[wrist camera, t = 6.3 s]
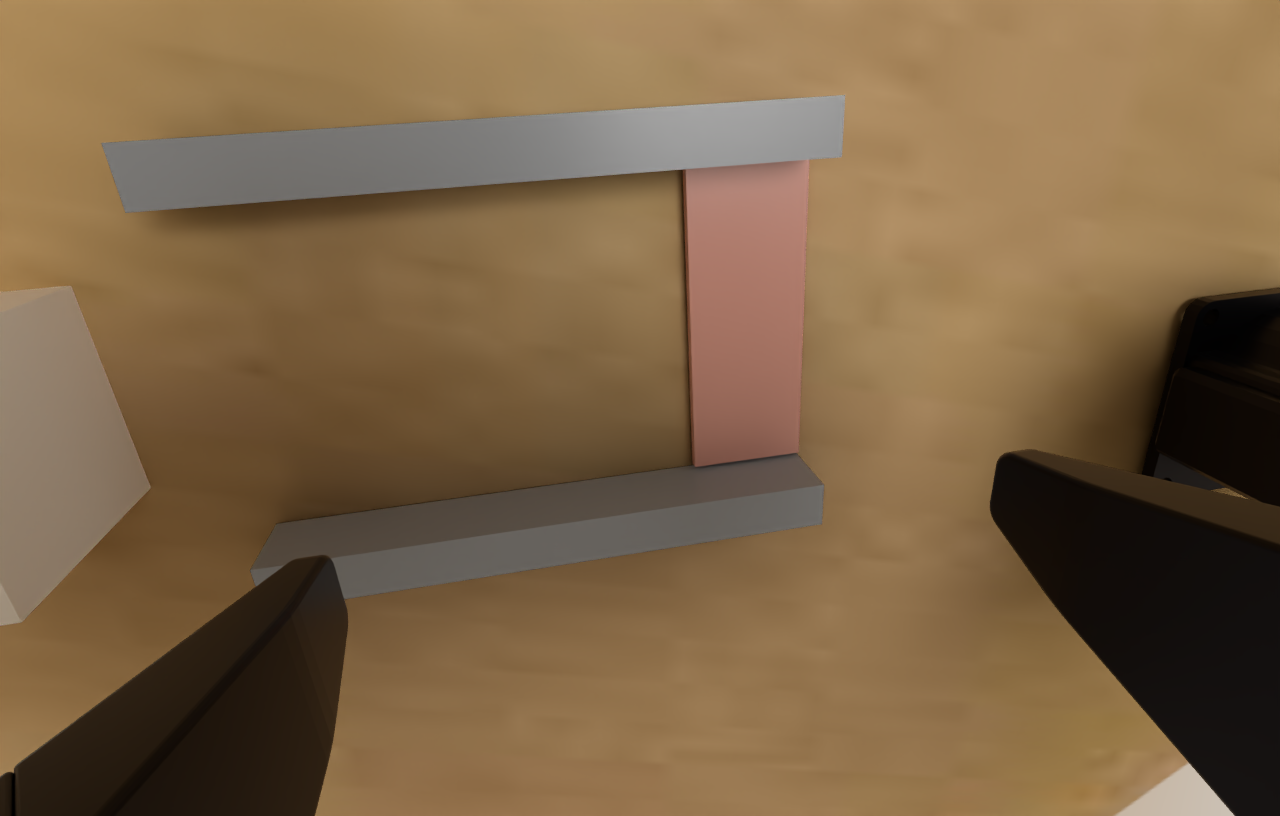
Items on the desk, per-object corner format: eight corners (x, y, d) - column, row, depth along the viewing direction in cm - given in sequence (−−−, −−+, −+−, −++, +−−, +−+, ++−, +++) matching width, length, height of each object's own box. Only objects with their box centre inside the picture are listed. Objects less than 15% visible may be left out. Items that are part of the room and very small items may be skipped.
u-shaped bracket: (806, 98, 16) (845, 95, 14) (793, 487, 20) (821, 523, 18) (154, 139, 14) (101, 142, 12) (288, 562, 18) (264, 611, 16)
